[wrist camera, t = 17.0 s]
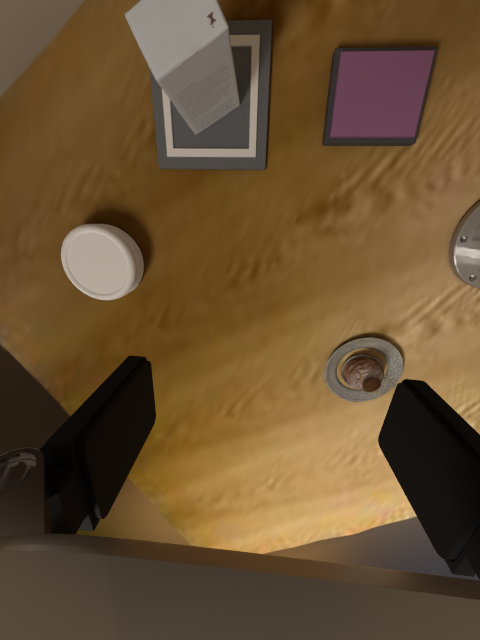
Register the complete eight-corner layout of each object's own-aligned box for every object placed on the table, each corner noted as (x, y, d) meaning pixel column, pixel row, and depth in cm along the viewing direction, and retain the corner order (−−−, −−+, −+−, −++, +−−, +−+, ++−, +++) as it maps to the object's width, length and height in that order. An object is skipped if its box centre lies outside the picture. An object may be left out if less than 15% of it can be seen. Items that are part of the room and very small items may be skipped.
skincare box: (222, 62, 26) (198, -57, 15) (240, 106, 27) (231, 27, 16) (175, 96, 27) (121, 11, 16) (194, 137, 29) (157, 83, 18)
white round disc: (69, 273, 36) (50, 278, 33) (87, 209, 33) (69, 207, 30) (131, 305, 38) (119, 313, 35) (155, 247, 34) (145, 250, 31)
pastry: (349, 322, 37) (361, 335, 33) (415, 352, 38) (436, 368, 34) (309, 381, 41) (315, 400, 37) (370, 407, 43) (383, 427, 38)
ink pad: (431, 53, 25) (441, 43, 24) (409, 145, 28) (418, 141, 27) (332, 54, 26) (337, 44, 24) (321, 145, 29) (325, 141, 27)
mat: (271, 22, 25) (272, 18, 25) (265, 169, 30) (265, 168, 29) (147, 25, 26) (144, 20, 25) (160, 168, 30) (158, 167, 30)
